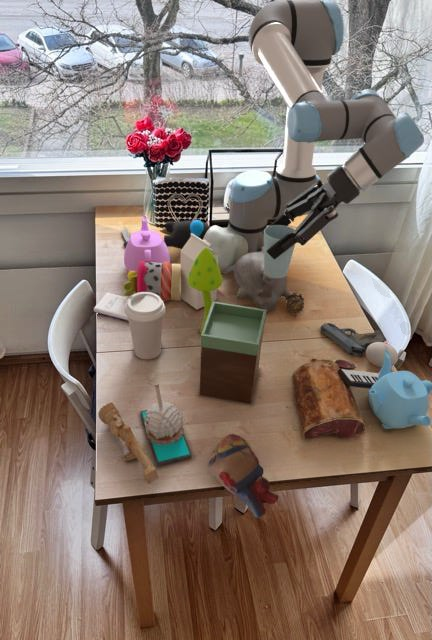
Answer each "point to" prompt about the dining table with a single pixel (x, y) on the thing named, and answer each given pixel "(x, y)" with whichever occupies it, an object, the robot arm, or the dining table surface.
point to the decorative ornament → (163, 422)
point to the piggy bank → (258, 282)
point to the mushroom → (205, 278)
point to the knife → (125, 236)
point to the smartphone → (169, 449)
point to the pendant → (295, 303)
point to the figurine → (127, 440)
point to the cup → (282, 262)
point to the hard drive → (112, 306)
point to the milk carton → (187, 260)
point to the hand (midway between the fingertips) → (268, 245)
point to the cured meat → (326, 400)
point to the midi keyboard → (358, 378)
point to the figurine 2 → (380, 353)
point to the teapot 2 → (399, 397)
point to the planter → (226, 246)
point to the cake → (155, 280)
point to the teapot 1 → (145, 248)
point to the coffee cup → (145, 323)
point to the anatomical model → (241, 473)
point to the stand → (228, 374)
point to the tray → (233, 328)
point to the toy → (184, 232)
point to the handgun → (352, 338)
